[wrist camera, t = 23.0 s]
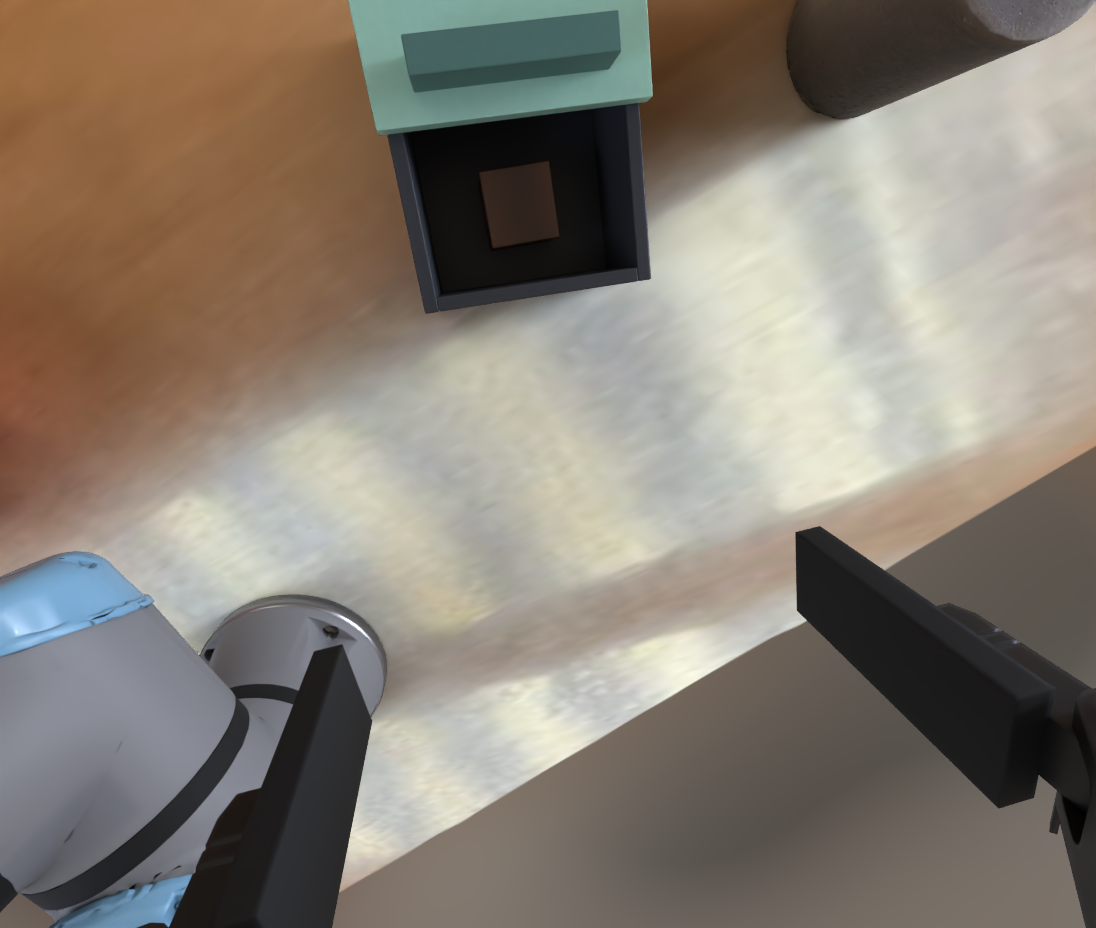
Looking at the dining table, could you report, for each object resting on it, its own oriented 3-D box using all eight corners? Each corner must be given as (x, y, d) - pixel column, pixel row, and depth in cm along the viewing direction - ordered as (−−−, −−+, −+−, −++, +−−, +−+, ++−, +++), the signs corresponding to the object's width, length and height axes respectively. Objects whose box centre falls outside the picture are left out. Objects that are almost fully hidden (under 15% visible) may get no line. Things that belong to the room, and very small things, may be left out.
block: (490, 251, 38) (492, 248, 34) (477, 182, 36) (478, 171, 32) (551, 240, 38) (560, 237, 34) (540, 172, 37) (549, 159, 33)
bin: (434, 305, 39) (425, 313, 31) (378, 31, 34) (348, -46, 25) (614, 277, 40) (651, 279, 32) (590, 8, 35) (628, -74, 26)
